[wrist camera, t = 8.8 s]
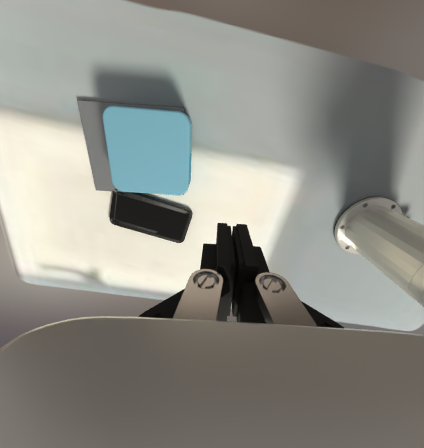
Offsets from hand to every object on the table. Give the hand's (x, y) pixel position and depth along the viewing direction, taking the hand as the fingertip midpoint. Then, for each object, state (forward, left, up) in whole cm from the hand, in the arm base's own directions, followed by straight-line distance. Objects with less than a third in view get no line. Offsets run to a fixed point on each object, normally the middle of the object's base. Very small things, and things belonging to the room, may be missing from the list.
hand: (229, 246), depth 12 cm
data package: (+4, -2, -23) cm, 24 cm away
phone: (+12, +10, -27) cm, 31 cm away
